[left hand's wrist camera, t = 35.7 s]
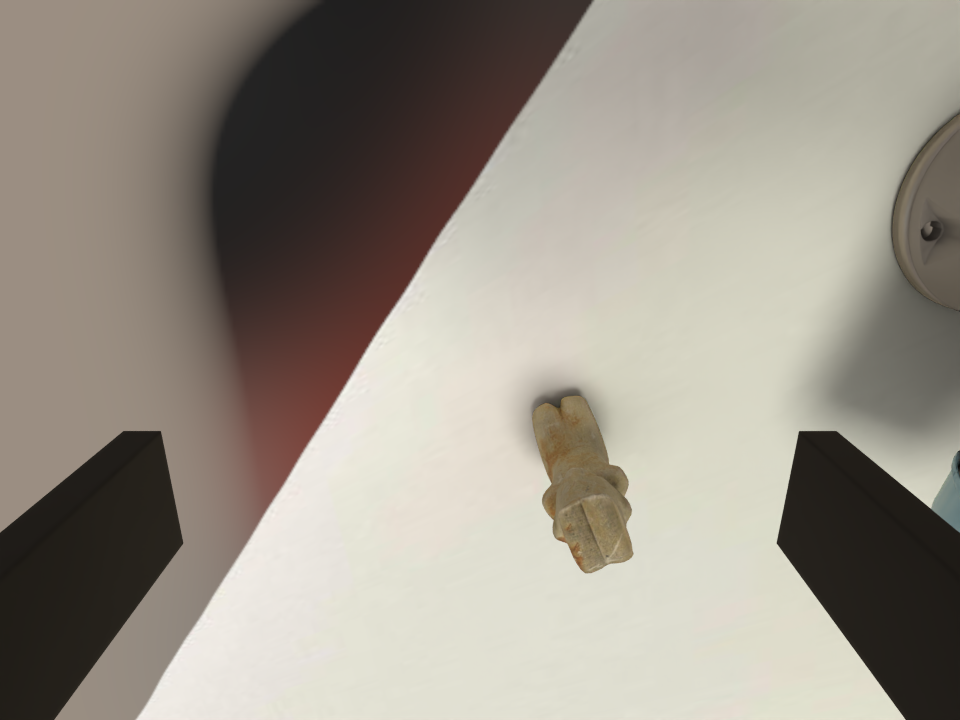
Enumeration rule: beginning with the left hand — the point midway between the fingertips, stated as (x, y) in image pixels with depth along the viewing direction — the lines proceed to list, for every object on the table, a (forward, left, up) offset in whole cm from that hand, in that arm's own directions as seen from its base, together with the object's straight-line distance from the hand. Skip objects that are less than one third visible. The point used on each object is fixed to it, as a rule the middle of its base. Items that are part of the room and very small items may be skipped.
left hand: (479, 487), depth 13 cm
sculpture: (+9, +14, -33) cm, 37 cm away
